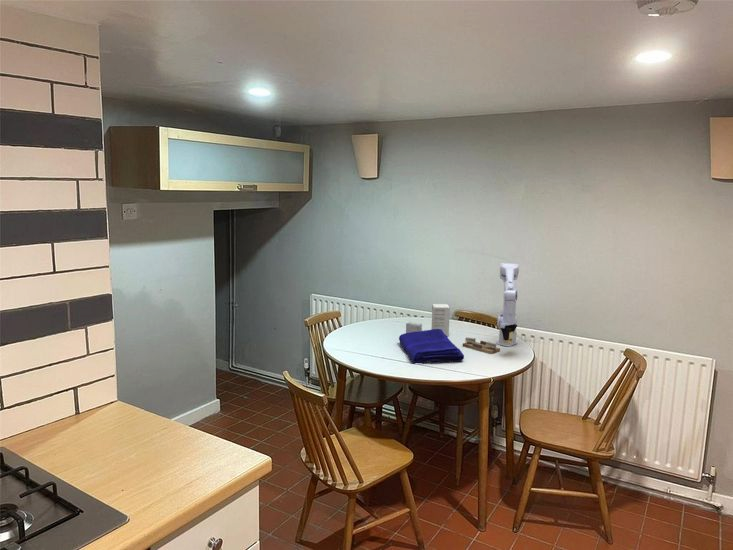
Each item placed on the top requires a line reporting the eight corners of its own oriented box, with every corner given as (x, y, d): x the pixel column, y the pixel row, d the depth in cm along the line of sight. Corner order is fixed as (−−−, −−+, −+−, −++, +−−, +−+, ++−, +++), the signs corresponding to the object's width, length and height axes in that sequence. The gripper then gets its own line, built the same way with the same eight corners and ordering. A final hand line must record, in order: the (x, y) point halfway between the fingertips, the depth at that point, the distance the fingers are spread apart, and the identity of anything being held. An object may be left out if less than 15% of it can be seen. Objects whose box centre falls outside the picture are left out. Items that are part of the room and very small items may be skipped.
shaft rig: (471, 343, 293) (471, 335, 292) (499, 351, 280) (500, 342, 279) (462, 346, 288) (462, 338, 287) (490, 354, 275) (491, 345, 274)
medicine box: (421, 338, 301) (422, 323, 300) (418, 340, 297) (418, 325, 296) (409, 336, 305) (409, 321, 304) (405, 338, 301) (405, 323, 300)
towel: (412, 365, 258) (412, 347, 256) (397, 343, 293) (397, 327, 291) (465, 363, 262) (465, 345, 260) (443, 341, 296) (444, 326, 295)
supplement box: (449, 336, 306) (450, 307, 303) (432, 336, 306) (433, 307, 303) (446, 331, 315) (448, 303, 312) (431, 331, 315) (432, 303, 312)
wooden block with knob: (505, 341, 278) (506, 329, 277) (513, 343, 274) (514, 331, 273) (502, 342, 275) (502, 331, 274) (509, 344, 272) (510, 332, 271)
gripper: (508, 309, 280) (507, 334, 282) (495, 314, 269) (493, 340, 272) (521, 311, 275) (520, 337, 278) (508, 316, 265) (506, 343, 267)
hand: (507, 339), depth 274 cm, fingers closed on wooden block with knob, 4 cm apart
